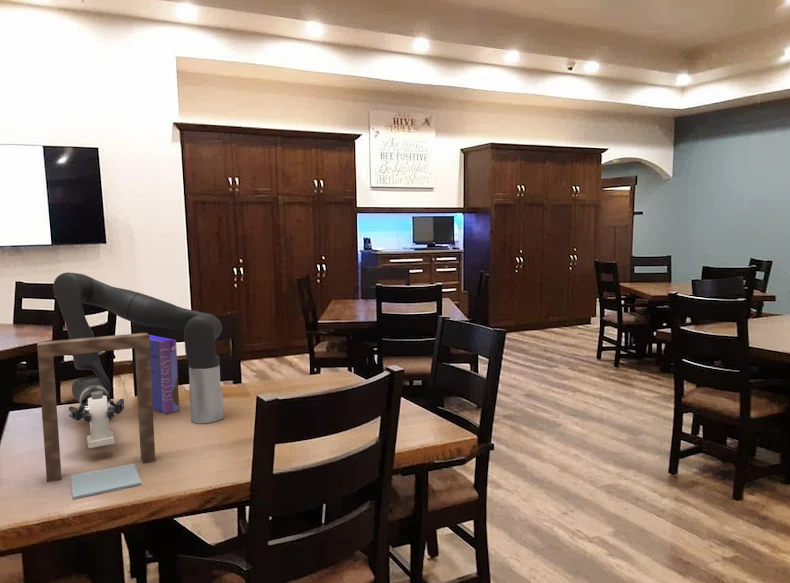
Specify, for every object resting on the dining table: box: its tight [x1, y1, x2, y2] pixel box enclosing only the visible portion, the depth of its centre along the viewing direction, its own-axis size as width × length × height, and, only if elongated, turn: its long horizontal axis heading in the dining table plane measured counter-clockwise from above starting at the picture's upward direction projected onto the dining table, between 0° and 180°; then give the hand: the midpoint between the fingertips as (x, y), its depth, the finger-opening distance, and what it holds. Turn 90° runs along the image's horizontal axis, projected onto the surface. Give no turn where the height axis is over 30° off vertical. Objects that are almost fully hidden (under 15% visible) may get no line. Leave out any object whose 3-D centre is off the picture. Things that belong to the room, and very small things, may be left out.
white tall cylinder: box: [86, 391, 115, 449], centre depth 149 cm, size 6×6×14 cm
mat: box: [70, 463, 142, 500], centre depth 135 cm, size 14×13×1 cm
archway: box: [36, 332, 156, 483], centre depth 141 cm, size 24×4×33 cm, turn 121°
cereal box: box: [149, 334, 180, 415], centre depth 191 cm, size 17×5×24 cm, turn 52°
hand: (99, 417), depth 147 cm, fingers closed on white tall cylinder, 4 cm apart
